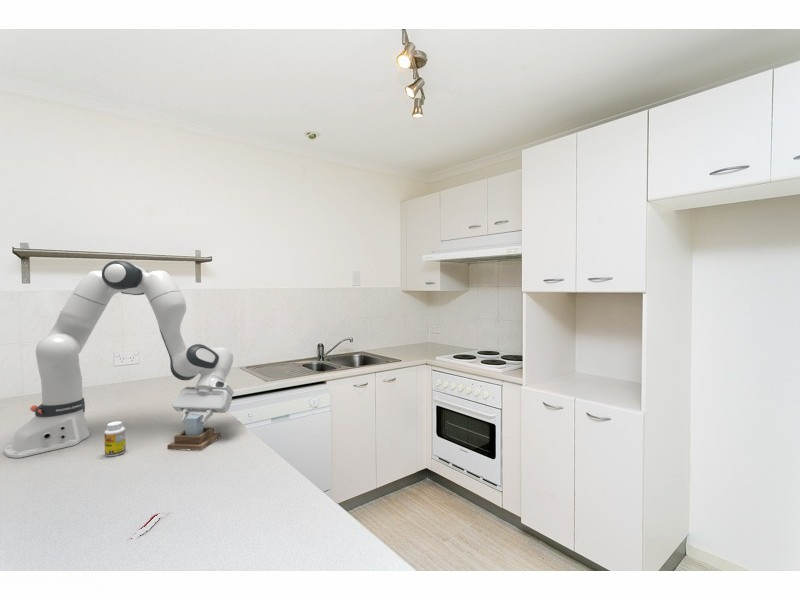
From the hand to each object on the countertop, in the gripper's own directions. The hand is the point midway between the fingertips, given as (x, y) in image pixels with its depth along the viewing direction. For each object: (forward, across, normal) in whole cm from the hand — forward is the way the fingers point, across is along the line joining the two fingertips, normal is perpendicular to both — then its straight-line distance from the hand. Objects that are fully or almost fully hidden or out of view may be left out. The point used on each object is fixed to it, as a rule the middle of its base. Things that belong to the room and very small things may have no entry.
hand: (193, 422), depth 137 cm
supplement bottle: (+12, -21, -1) cm, 25 cm away
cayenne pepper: (+37, +19, -26) cm, 49 cm away
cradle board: (+5, 0, +6) cm, 8 cm away
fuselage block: (+4, 0, +5) cm, 6 cm away
